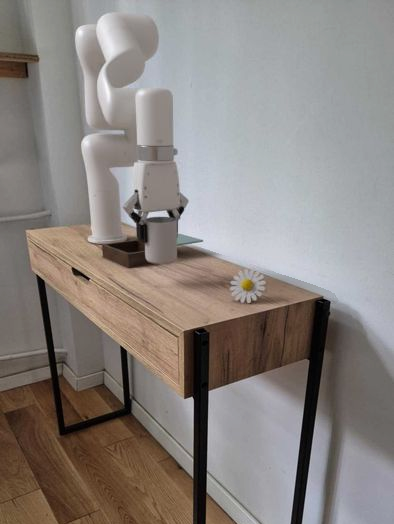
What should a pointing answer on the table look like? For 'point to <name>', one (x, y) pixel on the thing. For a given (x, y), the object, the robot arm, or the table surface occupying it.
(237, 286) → the decorative flower
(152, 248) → the cup
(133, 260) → the case
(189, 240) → the glass top
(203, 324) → the table surface
